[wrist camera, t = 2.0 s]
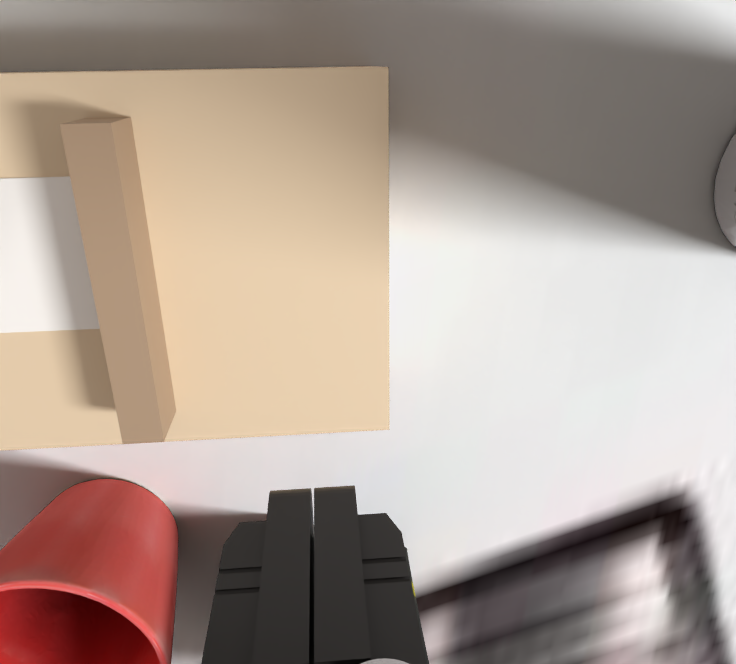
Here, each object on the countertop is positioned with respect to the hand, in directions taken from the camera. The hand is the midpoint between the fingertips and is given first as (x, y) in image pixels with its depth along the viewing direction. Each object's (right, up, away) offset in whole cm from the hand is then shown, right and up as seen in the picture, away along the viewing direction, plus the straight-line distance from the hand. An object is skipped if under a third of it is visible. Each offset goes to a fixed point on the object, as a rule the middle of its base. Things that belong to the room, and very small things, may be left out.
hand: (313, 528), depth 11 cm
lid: (-8, +6, +14) cm, 17 cm away
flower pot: (-14, -8, +27) cm, 32 cm away
